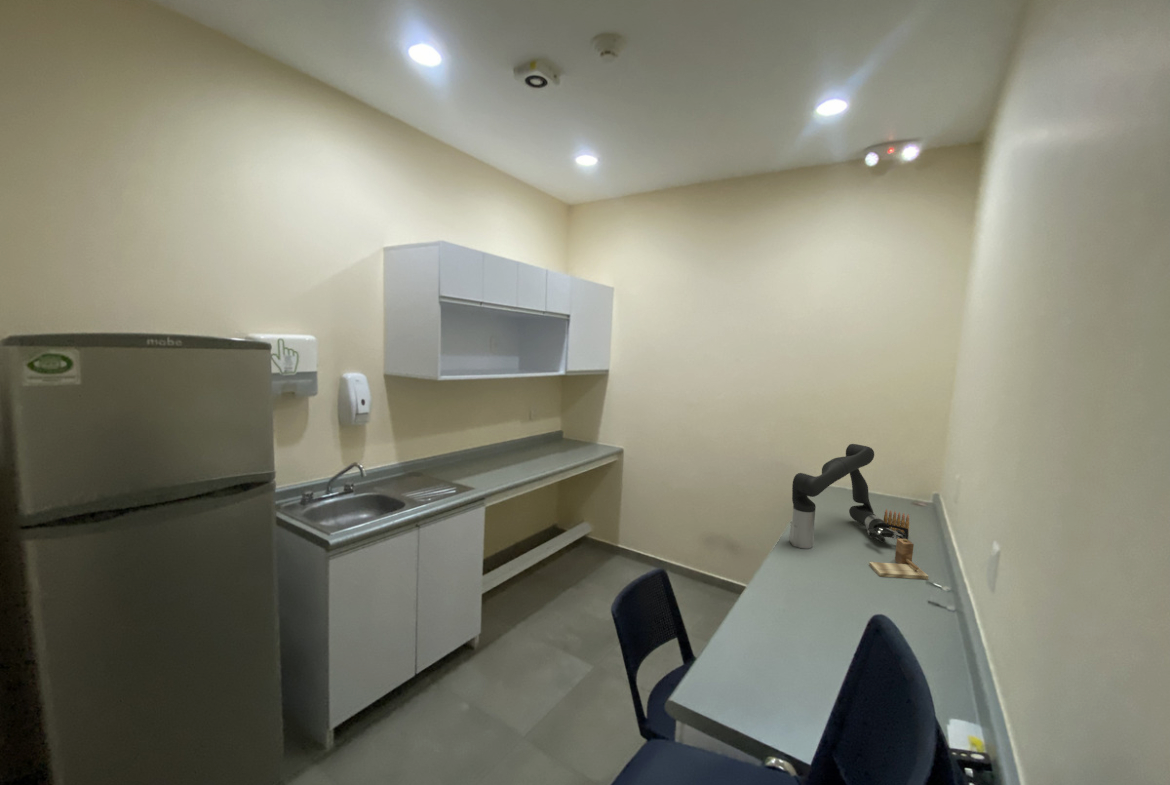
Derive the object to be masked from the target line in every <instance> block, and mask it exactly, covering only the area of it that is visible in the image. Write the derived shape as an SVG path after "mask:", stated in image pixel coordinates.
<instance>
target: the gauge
mask: <svg viewBox="0 0 1170 785" xmlns="http://www.w3.org/2000/svg"><path fill="white" fill-rule="evenodd" d="M895 544H896V545H895V546H896V547H895V553H894V554H895V556H894V561H895V562H896V564H910V565H911V566H912V567H913V568H914V569H915V570H916V571H917V570H918V569H919V568H920V567H919V566H918V565H917V564H915V563H914V562H913V556H914V555H913V554H914V546H915V545H914V543H913V542H912V541H911V540H909V538H908V539H899V537H898V538H897V539H896V543H895ZM917 566H918V567H919V568H918V567H917Z"/></svg>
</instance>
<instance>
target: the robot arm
mask: <svg viewBox="0 0 1170 785" xmlns="http://www.w3.org/2000/svg"><path fill="white" fill-rule="evenodd" d="M874 458H875V451H874V449H873V448H872V447H870V446H868V445H862V444H857V443H851V444H848V445H847V447H846V449H845V456H837V457H834V458H832V459H830V460H829V461H827V462H825V463H824V464H823V465H822V467H821V474H820V475H817V476H814V475H810V474H807V473H803V472H799V473H796V474H795V476H794V477H793V480H792V484H791V485H792V486H791V487H792V489H791V491H792V494H791V496H792V497H791V499H792V505H793V506H792V519H791V521H790V528H789V542H790V543H791V545H792V546H793V547H795V548H800V549H807V550H808V549H811V548H813V546H814V536H815V535H814V531H815V523H816V522H815V520H816V503H815V502H813V501H812V500H811V498H814V497H816V496H818V495H820V494H821V493H823V492H824V491H825V490H826V489H827V488H829V486H832V484H834V483H836V482H838V481H840V480H841V479H843V478H844V477H846V476H847V475H849V476H850V481H851V491H852V492H851V493H852V500H853V502H855V503H858V505H852V506H850V508H849V509H848V511H849V512H848V513H849V515H850V518H852V519H853V520H854V521H856V522H858V523H860V524H862V525H864V526H865V527H866V528H867V532H866V533H867V534H868V536H869V537H870V538H871V539H875V538H876V539H877V540H879V542H881V543H883V544H884V543H885V542H886V538H889V539H892V540H897V538H899V539H906V534H904V533H903V532H902V531H900V530H898V529H897V531H896V530H895V531H893V530H891V529H890V527H889V525H888V524H887V523H888V522H887V523H885V522H884V519H882V518H880V516H877V515H876V514H875V513H874V510H873V508H872V505H871V502H870V497H869V486H868V483H867V481H866V479H865V477H864V476H863V475H862V472H861V471H860V468H863V467H865V466H868V465H869V464H870V463H872V461H873V460H874ZM809 497H810V498H809ZM893 535H894V536H893ZM897 536H899V537H897Z"/></svg>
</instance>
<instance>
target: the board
mask: <svg viewBox="0 0 1170 785" xmlns="http://www.w3.org/2000/svg"><path fill="white" fill-rule="evenodd" d="M868 564H869V565H868V566H870V568H871V569H872V570H873V571H874V572H875V573H876V574H877V575H878V577H883V578H899V579H915V580H927V581H928V580H929V575H928V574H927V573H926V572H925V571H924V570H922V569H921V568H920V567H919V566H918V565H916V566H917V567H918V568H919V569H918V570H917V571H916V570H915V569H914V568H913V567H912V566H911V565H910V564H898V563H895V562H891V563H890V562H876V561H869V563H868Z"/></svg>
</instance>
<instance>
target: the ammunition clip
mask: <svg viewBox="0 0 1170 785" xmlns="http://www.w3.org/2000/svg"><path fill="white" fill-rule="evenodd" d="M905 517H906V518H905ZM883 521H884V522H885V523H887V524H888V525H889V527H890V529H891V530H893V531H897V529H898V530H900V531H902V532H903V533H904V534H906V539H908V540H909V537H910V536H909V533H910V515H909V514H906V515H905V513H904V512H903V513H902V516H901V512H900V511H899V512H898V513H897V512H896V510H895V511H894V512H892V509H890V511H889V513H888V508H887V509H885V511H884V516H883ZM892 537H894V535H893V536H892ZM897 537H898V538H899V536H897Z"/></svg>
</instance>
